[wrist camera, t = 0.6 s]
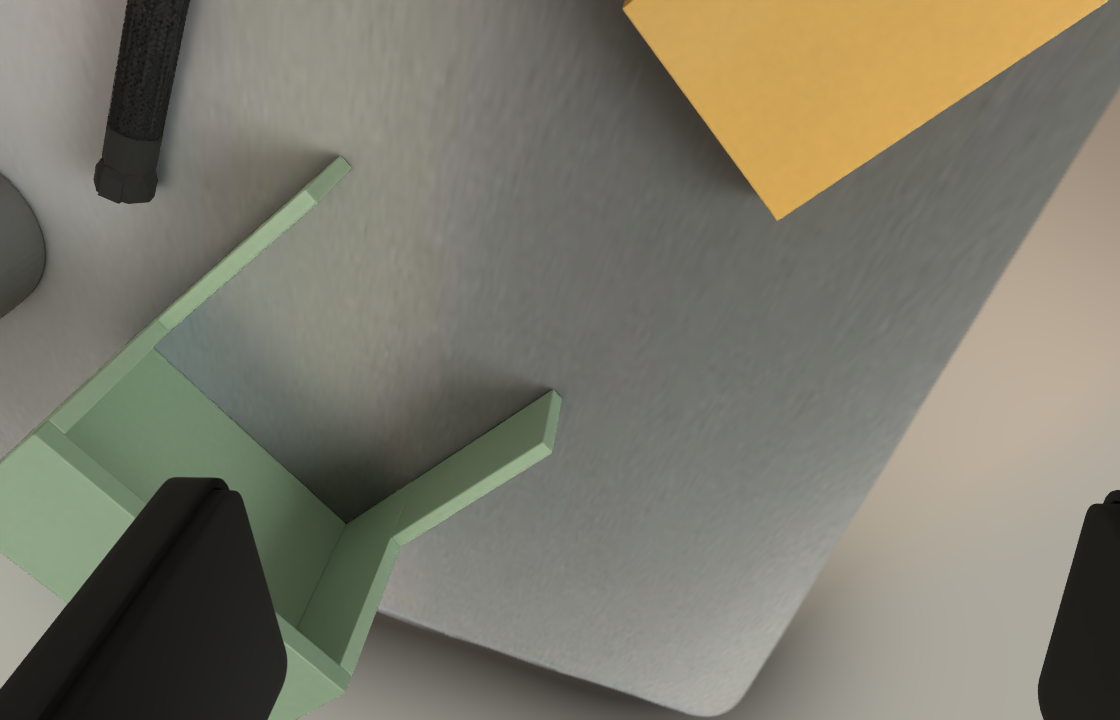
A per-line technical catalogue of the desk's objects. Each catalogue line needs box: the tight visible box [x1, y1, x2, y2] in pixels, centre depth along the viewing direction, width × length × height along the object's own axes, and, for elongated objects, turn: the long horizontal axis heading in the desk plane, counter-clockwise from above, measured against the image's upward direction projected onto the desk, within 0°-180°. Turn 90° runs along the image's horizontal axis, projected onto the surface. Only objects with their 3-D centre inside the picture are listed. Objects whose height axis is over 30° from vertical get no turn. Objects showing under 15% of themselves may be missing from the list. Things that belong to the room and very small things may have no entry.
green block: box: [0, 156, 562, 720], centre depth 42 cm, size 17×17×14 cm
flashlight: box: [94, 0, 190, 204], centre depth 39 cm, size 3×16×3 cm, turn 157°
